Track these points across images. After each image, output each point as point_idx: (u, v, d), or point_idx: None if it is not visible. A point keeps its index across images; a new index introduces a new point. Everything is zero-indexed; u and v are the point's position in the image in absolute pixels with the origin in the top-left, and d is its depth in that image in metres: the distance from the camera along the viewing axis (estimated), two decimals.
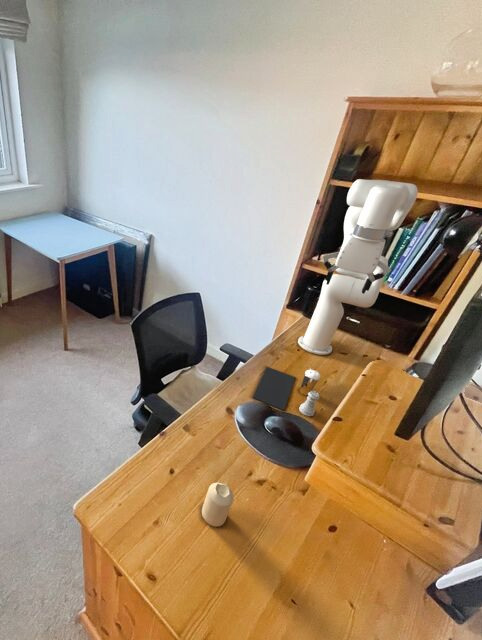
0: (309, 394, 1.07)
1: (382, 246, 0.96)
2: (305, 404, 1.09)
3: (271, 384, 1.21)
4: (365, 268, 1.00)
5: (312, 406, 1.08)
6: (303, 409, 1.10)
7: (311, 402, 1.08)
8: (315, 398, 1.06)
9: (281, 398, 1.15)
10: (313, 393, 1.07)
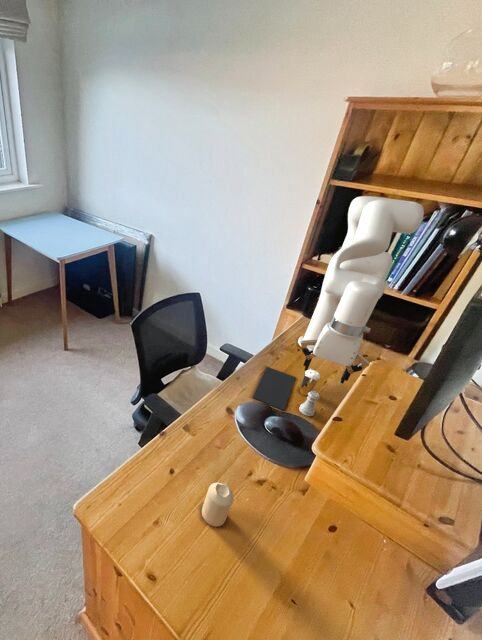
0: (309, 394, 1.07)
1: (360, 341, 0.92)
2: (305, 404, 1.09)
3: (271, 384, 1.21)
4: (343, 360, 0.96)
5: (312, 406, 1.08)
6: (303, 409, 1.10)
7: (311, 402, 1.08)
8: (315, 398, 1.06)
9: (281, 398, 1.15)
10: (313, 393, 1.07)
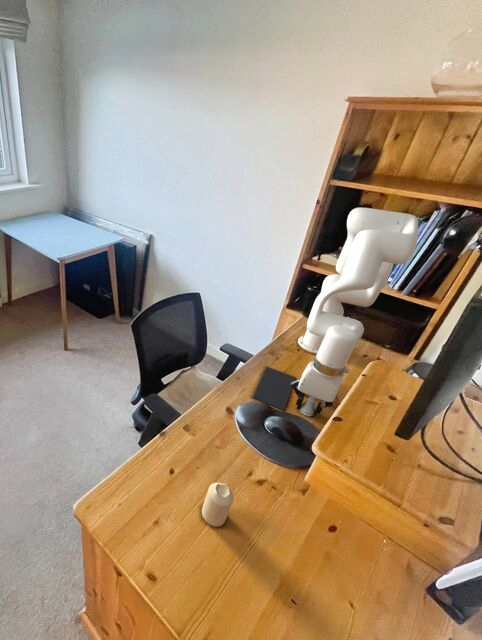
0: None
1: (340, 381, 0.99)
2: (305, 404, 1.09)
3: (271, 384, 1.21)
4: (325, 397, 1.03)
5: (312, 406, 1.08)
6: (303, 409, 1.10)
7: (311, 402, 1.08)
8: (315, 398, 1.06)
9: (281, 398, 1.15)
10: None
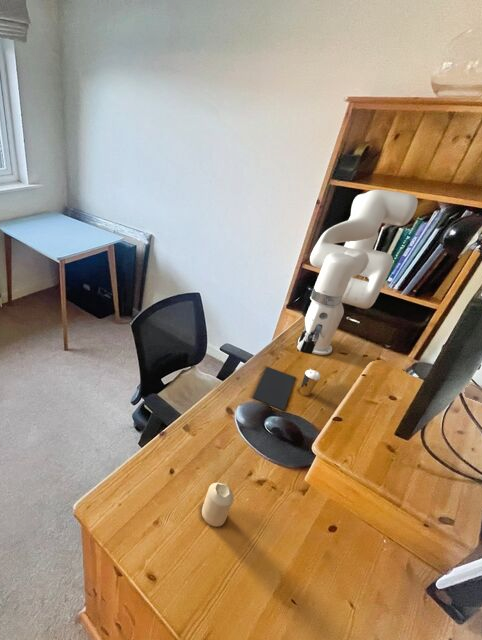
0: None
1: (318, 310, 0.98)
2: None
3: (271, 384, 1.21)
4: (307, 327, 1.03)
5: None
6: (299, 342, 1.10)
7: (305, 335, 1.07)
8: None
9: (281, 398, 1.15)
10: None
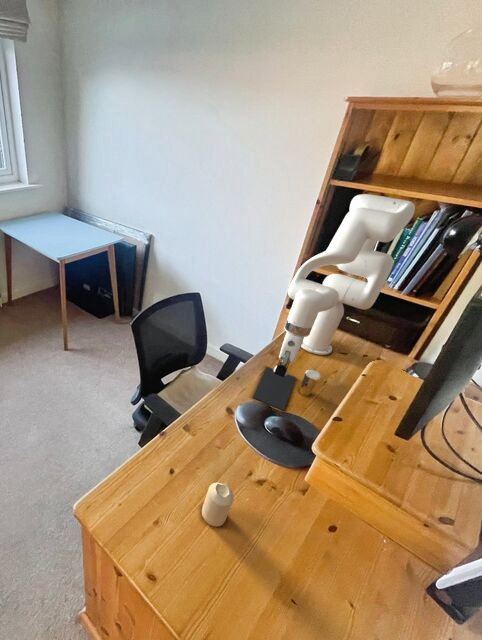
0: None
1: (287, 337, 1.09)
2: None
3: (271, 384, 1.21)
4: None
5: None
6: None
7: None
8: None
9: (281, 398, 1.15)
10: None
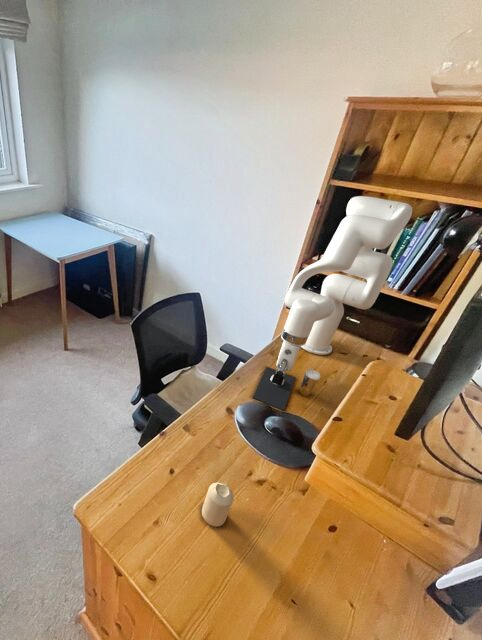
0: None
1: (284, 346, 1.11)
2: None
3: (271, 384, 1.21)
4: None
5: None
6: None
7: None
8: None
9: (281, 398, 1.15)
10: None
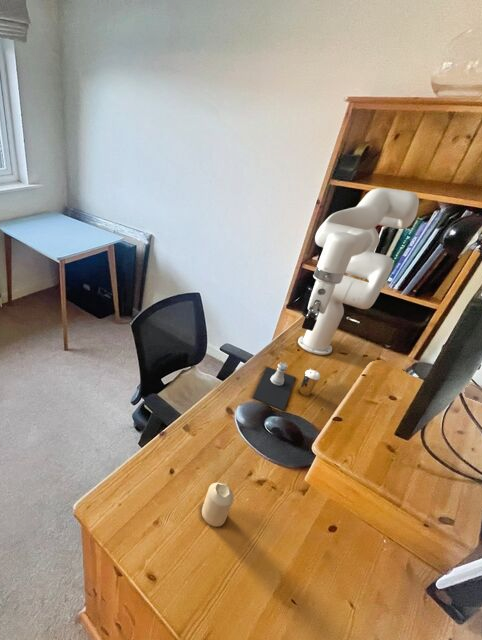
0: None
1: (317, 285, 1.03)
2: None
3: (271, 384, 1.21)
4: None
5: (276, 374, 1.20)
6: None
7: (277, 369, 1.20)
8: (278, 365, 1.19)
9: (281, 398, 1.15)
10: (283, 364, 1.19)
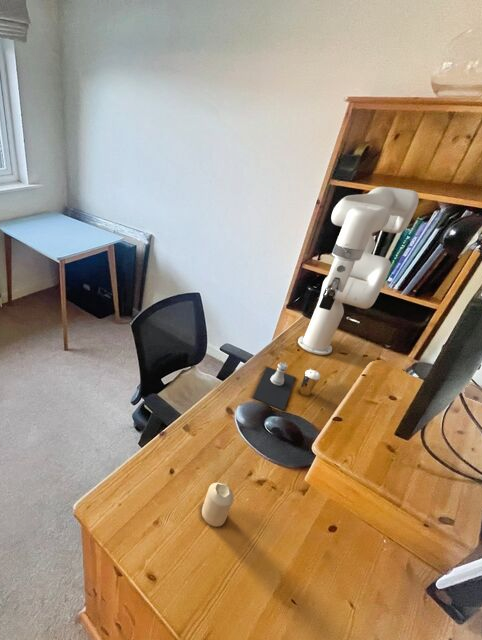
0: None
1: (336, 262, 1.01)
2: None
3: (271, 384, 1.21)
4: None
5: (276, 374, 1.20)
6: None
7: (277, 369, 1.20)
8: (278, 365, 1.19)
9: (281, 398, 1.15)
10: (283, 364, 1.19)
